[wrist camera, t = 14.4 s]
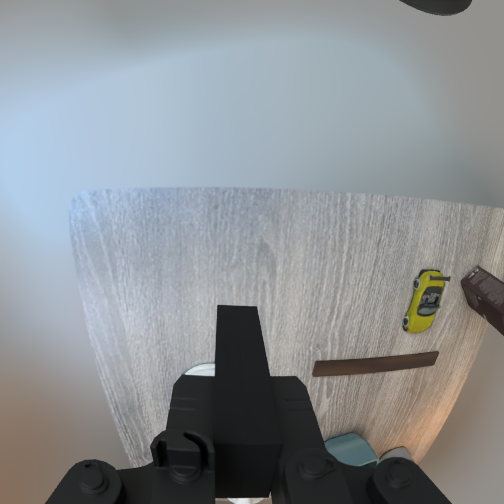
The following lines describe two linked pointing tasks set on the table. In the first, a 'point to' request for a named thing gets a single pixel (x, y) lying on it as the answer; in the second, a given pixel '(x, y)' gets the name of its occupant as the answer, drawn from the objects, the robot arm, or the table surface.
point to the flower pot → (352, 450)
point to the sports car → (424, 301)
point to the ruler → (373, 364)
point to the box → (485, 296)
